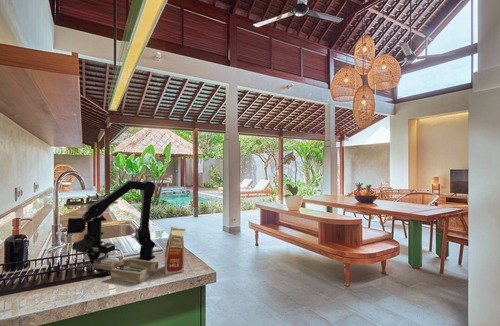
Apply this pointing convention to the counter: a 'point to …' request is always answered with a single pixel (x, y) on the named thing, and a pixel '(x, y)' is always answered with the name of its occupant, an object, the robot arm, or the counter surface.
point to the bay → (133, 276)
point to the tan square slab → (107, 263)
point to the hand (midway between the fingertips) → (93, 264)
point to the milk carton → (175, 251)
